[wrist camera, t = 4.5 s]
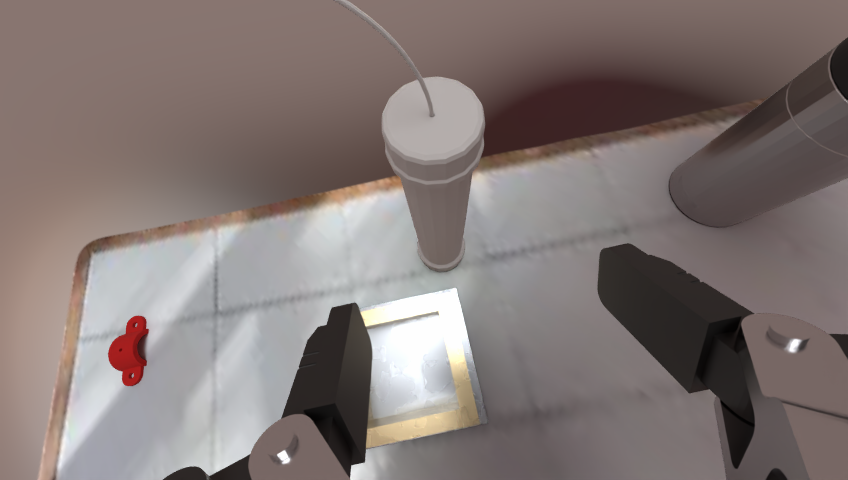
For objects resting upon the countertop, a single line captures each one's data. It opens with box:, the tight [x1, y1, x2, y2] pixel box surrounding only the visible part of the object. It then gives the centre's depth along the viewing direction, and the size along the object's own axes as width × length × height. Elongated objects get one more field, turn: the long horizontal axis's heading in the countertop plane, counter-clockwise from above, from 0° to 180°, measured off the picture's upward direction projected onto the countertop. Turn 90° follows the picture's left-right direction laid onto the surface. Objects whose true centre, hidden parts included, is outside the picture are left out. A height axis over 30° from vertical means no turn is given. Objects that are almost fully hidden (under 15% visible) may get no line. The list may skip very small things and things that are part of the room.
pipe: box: [334, 0, 485, 272], centre depth 24 cm, size 6×6×30 cm
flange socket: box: [359, 288, 488, 449], centre depth 32 cm, size 14×14×5 cm
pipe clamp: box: [108, 316, 149, 386], centre depth 36 cm, size 8×3×2 cm, turn 13°
